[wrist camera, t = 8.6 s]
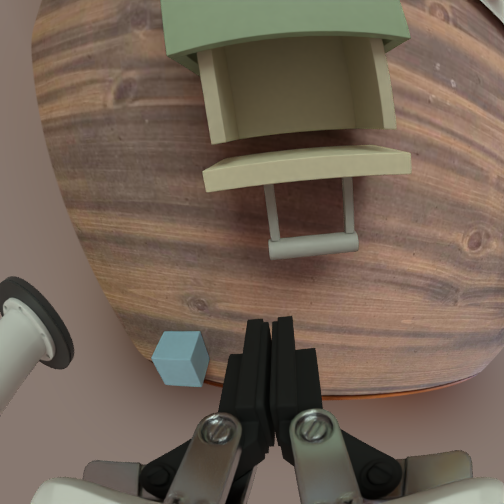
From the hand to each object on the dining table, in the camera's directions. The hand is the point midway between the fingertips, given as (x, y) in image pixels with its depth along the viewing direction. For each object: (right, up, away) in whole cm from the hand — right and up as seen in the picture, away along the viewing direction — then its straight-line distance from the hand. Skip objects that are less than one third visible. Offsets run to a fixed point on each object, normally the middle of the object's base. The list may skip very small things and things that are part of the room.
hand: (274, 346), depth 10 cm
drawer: (+2, +14, +8) cm, 16 cm away
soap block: (-8, -7, +19) cm, 22 cm away
